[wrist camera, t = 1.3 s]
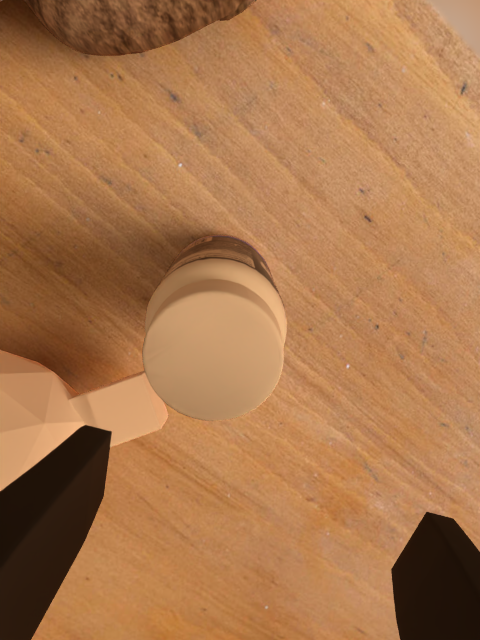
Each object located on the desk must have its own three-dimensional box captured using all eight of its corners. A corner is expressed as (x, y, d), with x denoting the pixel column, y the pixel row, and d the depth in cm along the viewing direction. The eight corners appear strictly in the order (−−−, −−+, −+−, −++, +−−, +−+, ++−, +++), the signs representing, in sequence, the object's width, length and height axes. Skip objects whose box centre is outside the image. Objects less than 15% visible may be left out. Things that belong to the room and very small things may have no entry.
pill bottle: (269, 333, 21) (292, 436, 13) (170, 331, 21) (132, 434, 13) (274, 233, 19) (304, 279, 11) (167, 231, 19) (121, 276, 11)
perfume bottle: (-24, 540, 22) (197, 459, 23) (-198, 696, 13) (178, 555, 13) (-82, 381, 22) (141, 303, 22) (-300, 425, 13) (83, 292, 13)
